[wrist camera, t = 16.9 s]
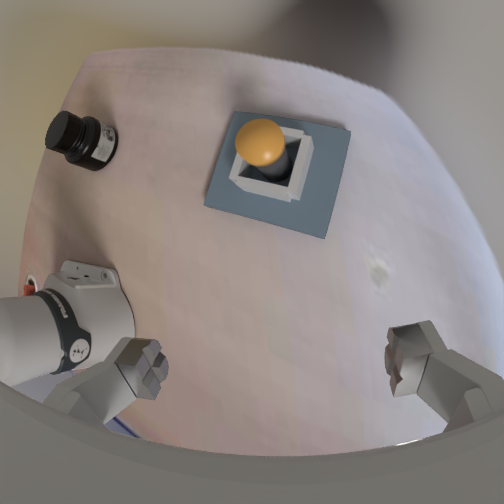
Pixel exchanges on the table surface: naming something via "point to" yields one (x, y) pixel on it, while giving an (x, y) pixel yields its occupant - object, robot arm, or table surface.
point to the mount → (291, 189)
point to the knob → (264, 149)
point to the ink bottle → (82, 140)
